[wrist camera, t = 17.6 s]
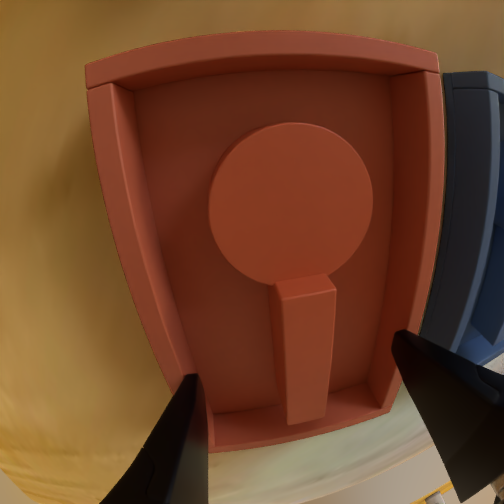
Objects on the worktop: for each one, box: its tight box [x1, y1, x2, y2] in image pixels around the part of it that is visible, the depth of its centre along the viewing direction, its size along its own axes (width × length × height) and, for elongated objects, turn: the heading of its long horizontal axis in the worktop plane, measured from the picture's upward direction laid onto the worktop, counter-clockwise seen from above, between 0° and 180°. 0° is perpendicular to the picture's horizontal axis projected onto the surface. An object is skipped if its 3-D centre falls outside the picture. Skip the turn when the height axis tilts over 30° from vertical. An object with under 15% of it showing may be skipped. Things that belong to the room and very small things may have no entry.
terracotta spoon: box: [208, 122, 373, 425], centre depth 9 cm, size 11×5×2 cm, turn 6°
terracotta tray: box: [85, 30, 444, 453], centre depth 9 cm, size 15×9×2 cm, turn 6°
